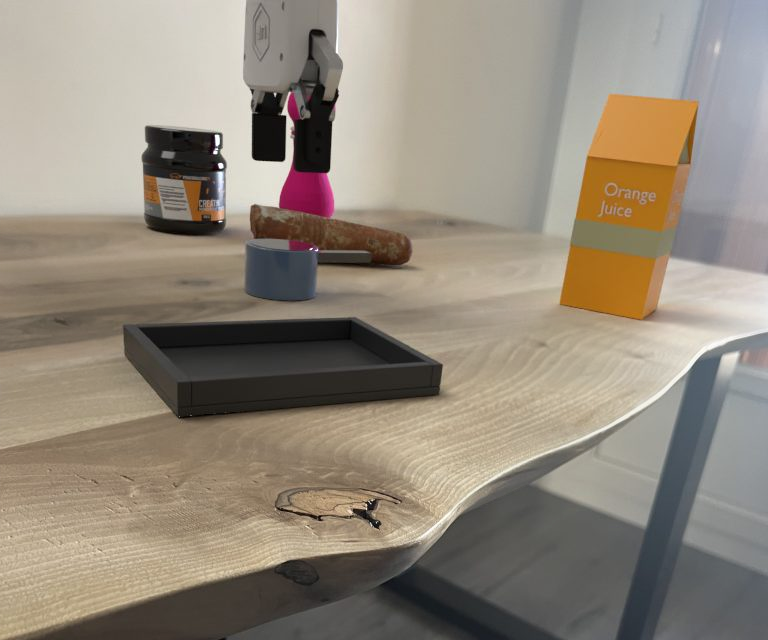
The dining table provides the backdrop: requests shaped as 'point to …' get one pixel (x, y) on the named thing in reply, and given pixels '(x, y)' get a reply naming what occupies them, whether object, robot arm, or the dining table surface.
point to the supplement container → (184, 180)
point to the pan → (288, 267)
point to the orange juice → (629, 205)
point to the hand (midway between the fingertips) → (289, 166)
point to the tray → (275, 364)
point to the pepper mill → (305, 183)
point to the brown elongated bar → (330, 234)
